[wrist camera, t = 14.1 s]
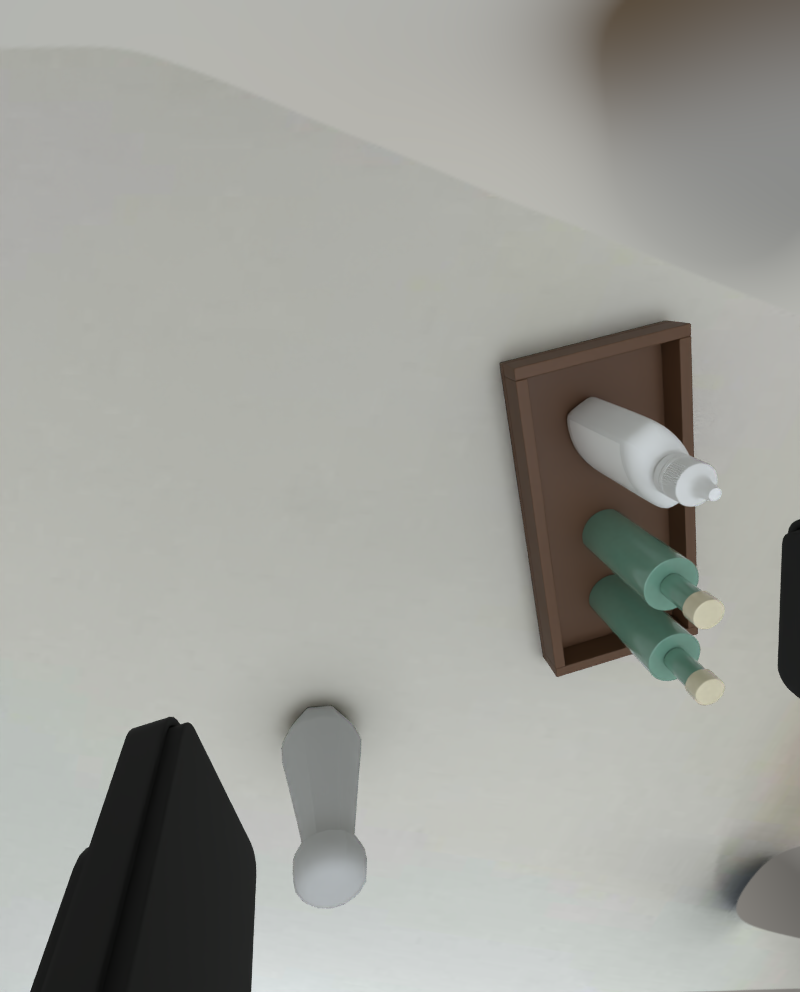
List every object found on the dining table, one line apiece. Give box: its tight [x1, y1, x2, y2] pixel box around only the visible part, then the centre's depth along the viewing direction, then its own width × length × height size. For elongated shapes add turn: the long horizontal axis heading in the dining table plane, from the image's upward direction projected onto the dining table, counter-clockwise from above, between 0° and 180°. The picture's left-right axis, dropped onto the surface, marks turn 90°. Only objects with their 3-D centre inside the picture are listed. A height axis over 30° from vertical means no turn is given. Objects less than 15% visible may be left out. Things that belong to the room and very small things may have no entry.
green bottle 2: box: [589, 574, 725, 705], centre depth 39 cm, size 4×4×11 cm
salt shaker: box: [281, 706, 367, 908], centre depth 39 cm, size 6×6×13 cm
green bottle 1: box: [582, 509, 725, 629], centre depth 37 cm, size 4×4×11 cm
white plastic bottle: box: [567, 397, 722, 508], centre depth 34 cm, size 4×6×12 cm
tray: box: [500, 321, 698, 677], centre depth 41 cm, size 24×12×3 cm, turn 11°
